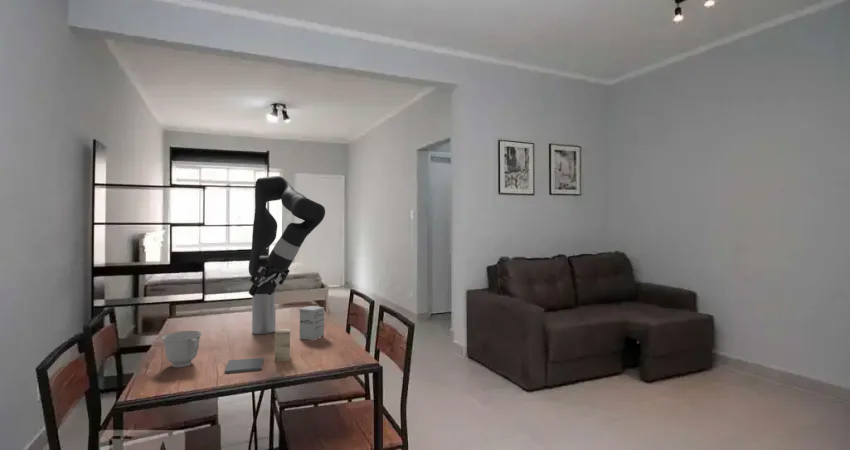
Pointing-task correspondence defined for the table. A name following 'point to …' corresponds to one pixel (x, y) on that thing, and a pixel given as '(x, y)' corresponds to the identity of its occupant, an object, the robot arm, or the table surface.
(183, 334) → the teacup
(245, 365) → the slate coaster
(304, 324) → the supplement box
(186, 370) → the table surface
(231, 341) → the table surface
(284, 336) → the beech block
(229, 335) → the table surface
